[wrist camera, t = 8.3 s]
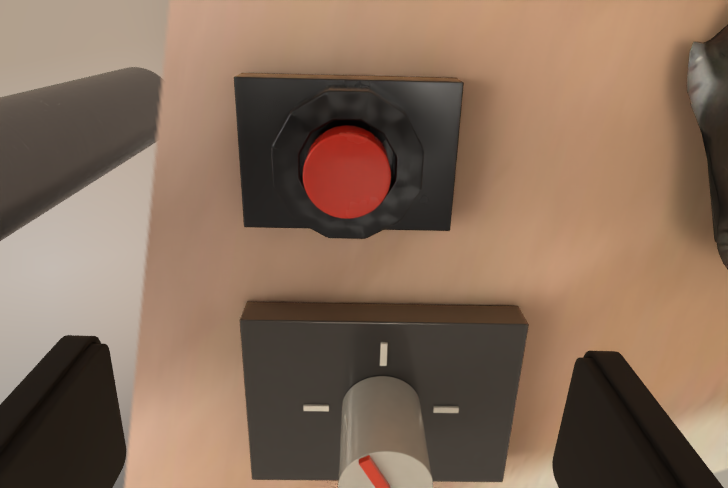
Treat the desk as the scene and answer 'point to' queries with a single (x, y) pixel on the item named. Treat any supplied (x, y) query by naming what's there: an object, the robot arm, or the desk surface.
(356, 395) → the hob knob
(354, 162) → the button
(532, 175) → the desk surface
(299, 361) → the hob console
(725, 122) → the lucky cat figurine
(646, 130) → the desk surface
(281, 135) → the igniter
